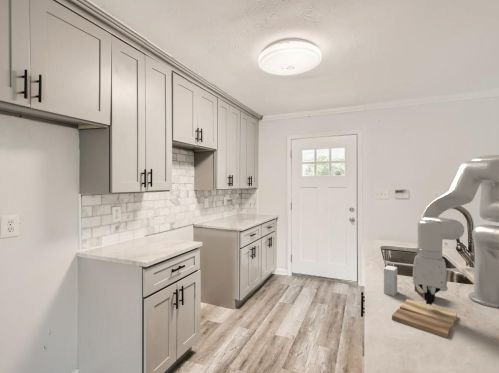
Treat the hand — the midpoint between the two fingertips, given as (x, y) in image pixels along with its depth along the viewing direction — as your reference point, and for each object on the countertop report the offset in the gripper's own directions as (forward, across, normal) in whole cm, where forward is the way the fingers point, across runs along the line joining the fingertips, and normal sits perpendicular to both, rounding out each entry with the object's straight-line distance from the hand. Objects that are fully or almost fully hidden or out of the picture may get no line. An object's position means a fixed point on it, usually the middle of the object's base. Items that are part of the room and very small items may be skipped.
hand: (429, 303), depth 101 cm
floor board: (+4, 0, -6) cm, 7 cm away
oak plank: (+4, 0, -1) cm, 4 cm away
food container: (+5, -4, +17) cm, 19 cm away
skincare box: (+5, -16, +9) cm, 19 cm away
